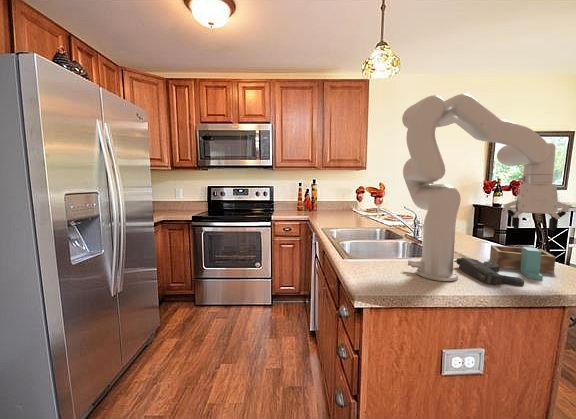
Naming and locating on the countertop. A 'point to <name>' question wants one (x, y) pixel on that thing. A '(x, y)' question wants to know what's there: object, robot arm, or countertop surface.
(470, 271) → the toy gun
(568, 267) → the countertop surface
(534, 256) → the teal upright block
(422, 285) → the countertop surface
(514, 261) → the open wooden box
